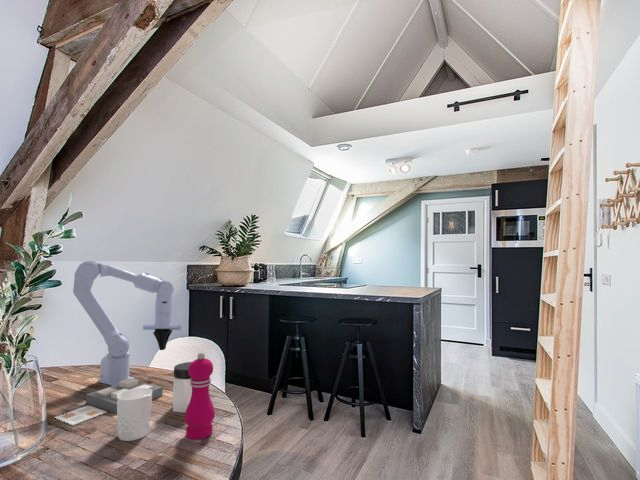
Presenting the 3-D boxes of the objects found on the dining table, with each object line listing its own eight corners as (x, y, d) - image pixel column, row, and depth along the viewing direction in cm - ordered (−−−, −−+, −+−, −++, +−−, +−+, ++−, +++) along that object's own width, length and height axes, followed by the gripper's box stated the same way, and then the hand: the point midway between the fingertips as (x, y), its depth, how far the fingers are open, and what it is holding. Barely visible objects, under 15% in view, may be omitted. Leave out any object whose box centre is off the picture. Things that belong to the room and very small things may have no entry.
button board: (85, 403, 108) (86, 394, 108) (131, 387, 121) (132, 379, 121) (117, 413, 101) (117, 404, 101) (162, 395, 114) (162, 387, 114)
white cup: (141, 443, 85) (142, 400, 86) (108, 442, 85) (109, 399, 86) (156, 427, 93) (158, 388, 93) (126, 426, 93) (128, 387, 94)
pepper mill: (205, 442, 86) (207, 357, 86) (177, 439, 87) (180, 355, 88) (219, 428, 93) (221, 349, 94) (194, 425, 94) (195, 348, 95)
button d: (132, 393, 112) (133, 388, 112) (144, 389, 115) (144, 384, 115) (141, 396, 110) (141, 390, 110) (152, 391, 113) (152, 386, 113)
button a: (96, 397, 109) (96, 391, 109) (109, 392, 112) (109, 387, 112) (104, 399, 107) (104, 394, 107) (117, 395, 110) (117, 389, 110)
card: (53, 418, 97) (54, 417, 98) (88, 406, 105) (88, 405, 105) (72, 425, 93) (72, 424, 93) (106, 412, 101) (107, 411, 101)
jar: (174, 402, 109) (175, 362, 109) (202, 399, 111) (203, 360, 112) (171, 415, 100) (172, 371, 101) (201, 411, 102) (202, 369, 103)
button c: (111, 398, 106) (111, 392, 106) (123, 393, 109) (124, 388, 109) (119, 400, 104) (119, 395, 104) (132, 396, 107) (132, 390, 107)
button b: (118, 386, 115) (119, 381, 115) (130, 382, 118) (130, 377, 119) (126, 388, 113) (126, 383, 113) (138, 385, 117) (138, 379, 117)
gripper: (138, 314, 131) (137, 351, 131) (178, 314, 131) (177, 352, 130) (148, 311, 138) (147, 347, 138) (185, 311, 138) (184, 347, 137)
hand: (162, 349), depth 134 cm, fingers closed
